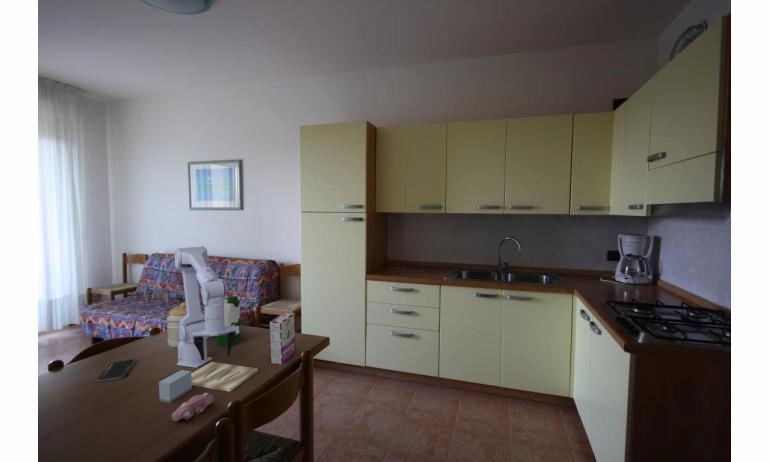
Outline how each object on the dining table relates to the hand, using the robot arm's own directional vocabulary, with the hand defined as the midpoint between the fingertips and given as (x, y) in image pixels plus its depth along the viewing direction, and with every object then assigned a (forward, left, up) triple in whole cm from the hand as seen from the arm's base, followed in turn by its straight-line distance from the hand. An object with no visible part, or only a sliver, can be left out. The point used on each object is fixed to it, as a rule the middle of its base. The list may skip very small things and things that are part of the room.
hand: (216, 356), depth 111 cm
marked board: (-2, +4, -9) cm, 10 cm away
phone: (-41, -2, -10) cm, 42 cm away
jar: (-40, +26, -9) cm, 49 cm away
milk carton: (-21, +31, -9) cm, 39 cm away
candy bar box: (+11, +23, -9) cm, 27 cm away
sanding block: (-7, -9, -9) cm, 15 cm away
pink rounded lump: (+7, -16, -9) cm, 20 cm away
